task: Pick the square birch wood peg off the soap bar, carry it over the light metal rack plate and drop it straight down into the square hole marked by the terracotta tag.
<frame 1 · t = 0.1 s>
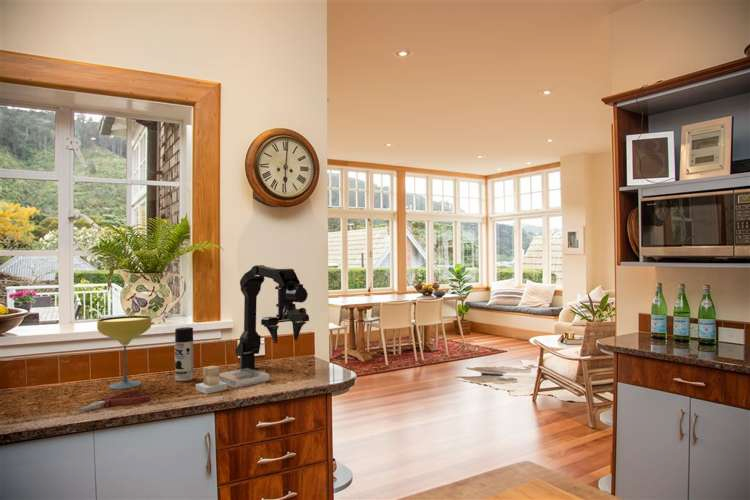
hand: (286, 341, 185), 15 cm above the worktop, tool pointing down, fingers open, 9 cm apart
soap bar: (211, 389, 172), on the worktop
cocktail glass: (125, 386, 180), on the worktop
rack plate: (241, 380, 185), on the worktop
pliers: (115, 405, 158), on the worktop
peg: (211, 383, 172), point 2 cm above the worktop, touching soap bar
spray can: (184, 380, 188), on the worktop
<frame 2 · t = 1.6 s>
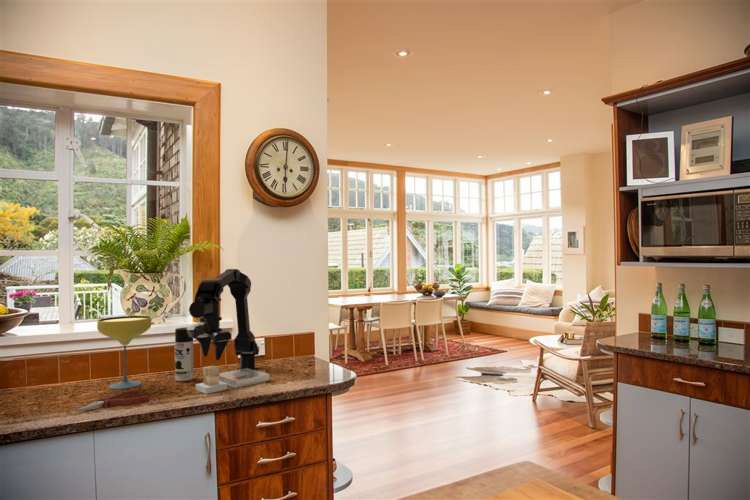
hand: (211, 358, 173), 11 cm above the worktop, tool pointing down, fingers open, 9 cm apart
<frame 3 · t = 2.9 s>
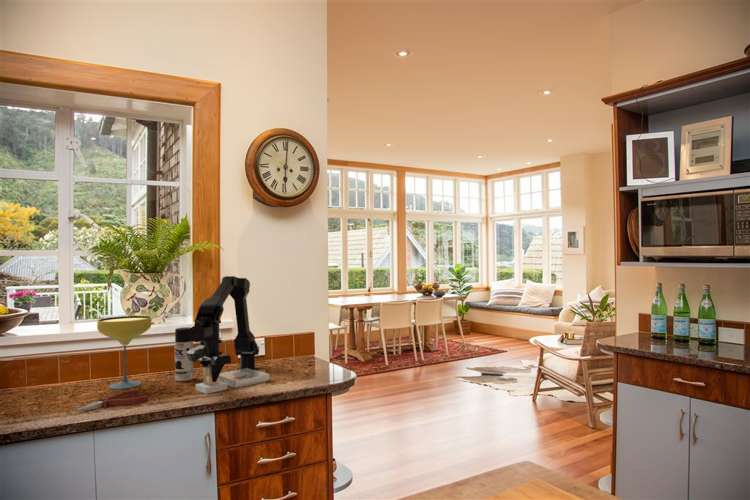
hand: (211, 381, 172), 3 cm above the worktop, tool pointing down, fingers closed on peg, 4 cm apart
peg: (211, 383, 172), point 2 cm above the worktop, touching gripper, soap bar
everything else where it was.
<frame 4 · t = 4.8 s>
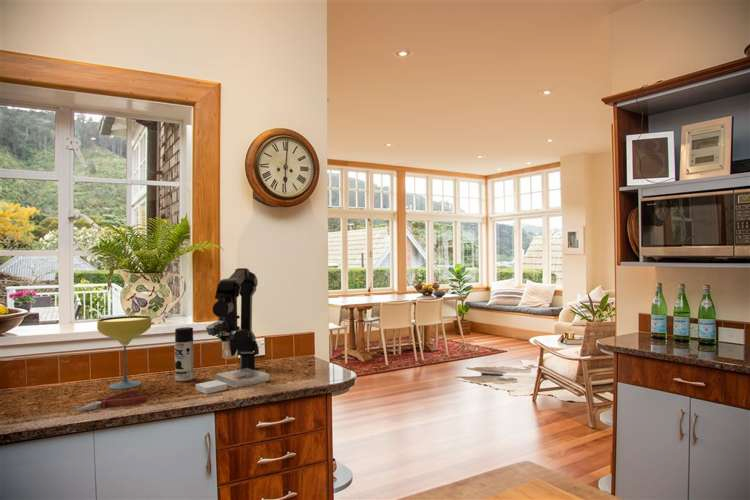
hand: (230, 354, 180), 11 cm above the worktop, tool pointing down, fingers closed on peg, 4 cm apart
peg: (229, 357, 180), point 10 cm above the worktop, touching gripper
when the fingers open (4 cm above the worktop, at t = 6.8 s): peg drops 3 cm, resting in rack plate.
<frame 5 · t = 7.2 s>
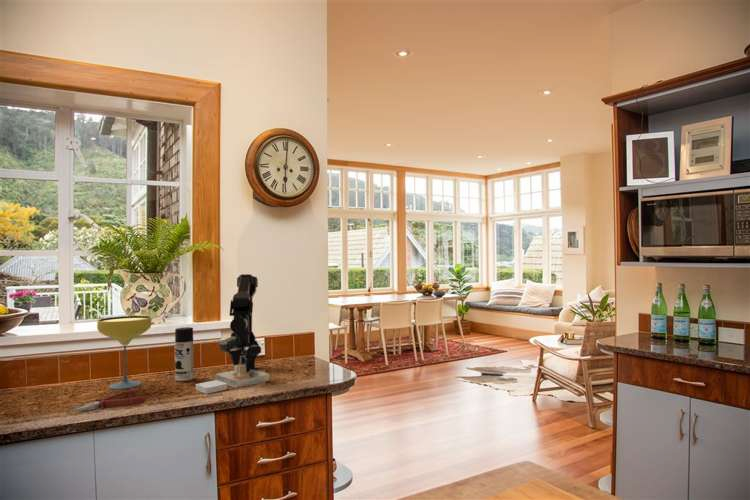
hand: (241, 370, 185), 4 cm above the worktop, tool pointing down, fingers open, 8 cm apart
peg: (241, 380, 185), resting in rack plate
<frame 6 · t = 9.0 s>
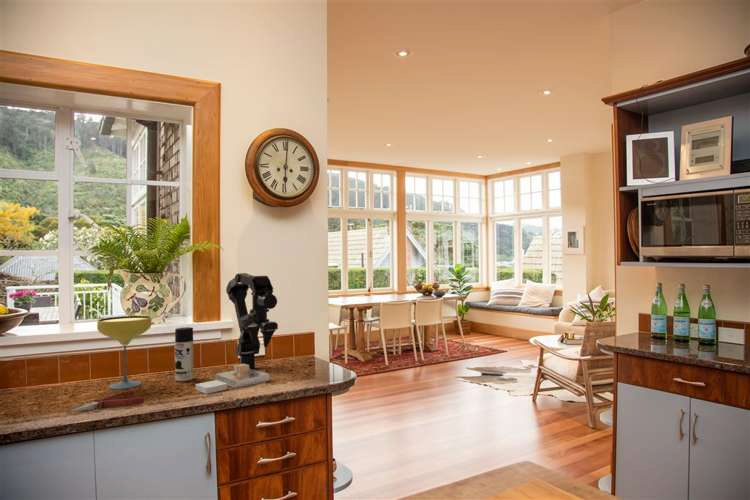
hand: (259, 345, 194), 12 cm above the worktop, tool pointing down, fingers open, 9 cm apart
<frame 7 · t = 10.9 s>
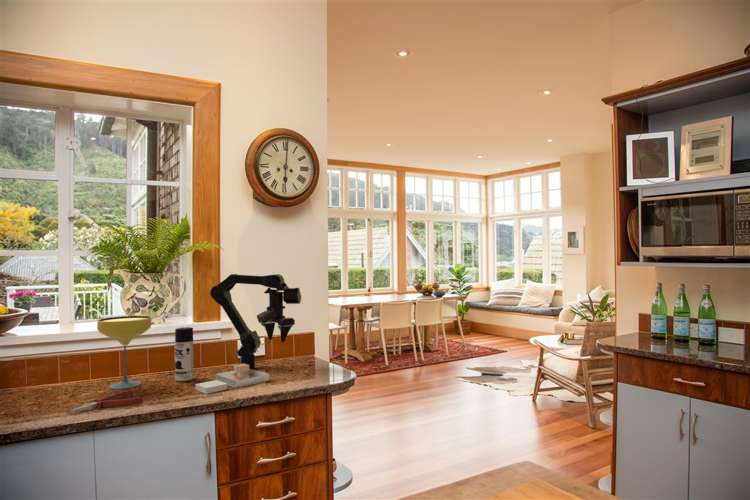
hand: (276, 340, 203), 12 cm above the worktop, tool pointing down, fingers open, 9 cm apart
at the end: peg 0.0 cm off-centre on the rack plate, point 0.0 cm above the rack plate's base; peg tilted 0°; the gripper is holding nothing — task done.
